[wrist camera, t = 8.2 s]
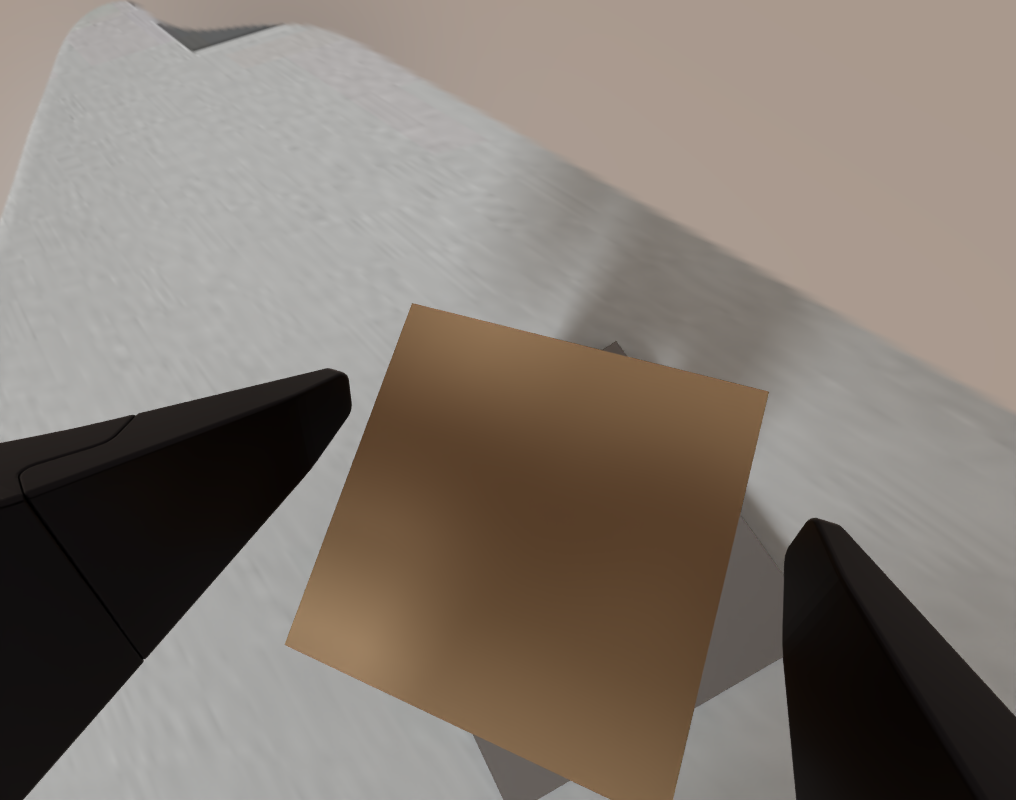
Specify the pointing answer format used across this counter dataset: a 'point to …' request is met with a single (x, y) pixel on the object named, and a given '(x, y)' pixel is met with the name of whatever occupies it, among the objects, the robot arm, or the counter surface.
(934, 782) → the robot arm
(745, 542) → the mat
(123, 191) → the counter surface
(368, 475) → the stool
